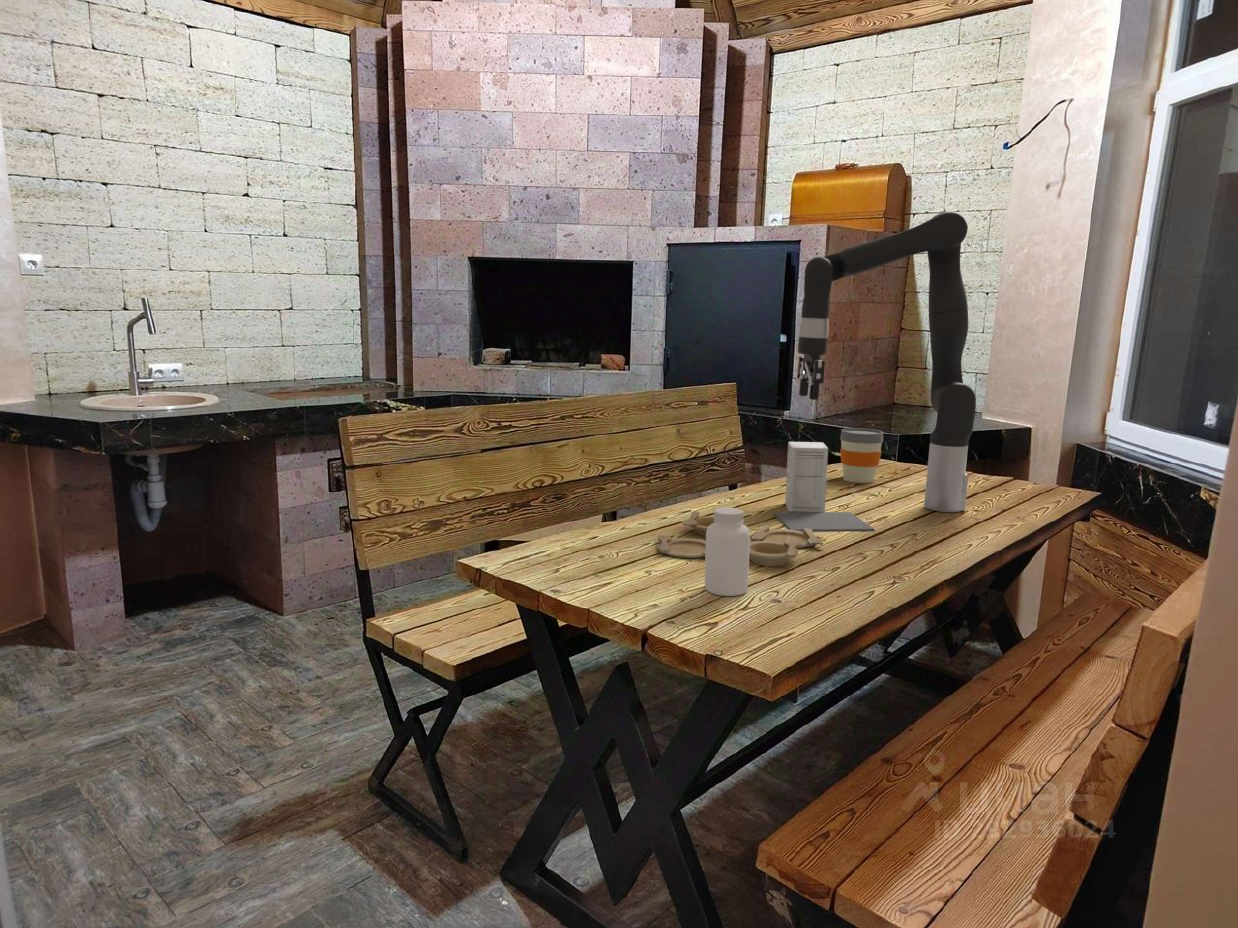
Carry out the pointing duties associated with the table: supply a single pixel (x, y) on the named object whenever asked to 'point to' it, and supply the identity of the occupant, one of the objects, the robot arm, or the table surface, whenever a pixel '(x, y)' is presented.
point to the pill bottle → (727, 553)
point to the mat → (822, 521)
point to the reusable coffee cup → (860, 453)
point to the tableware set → (764, 549)
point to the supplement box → (806, 476)
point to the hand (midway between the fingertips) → (808, 397)
